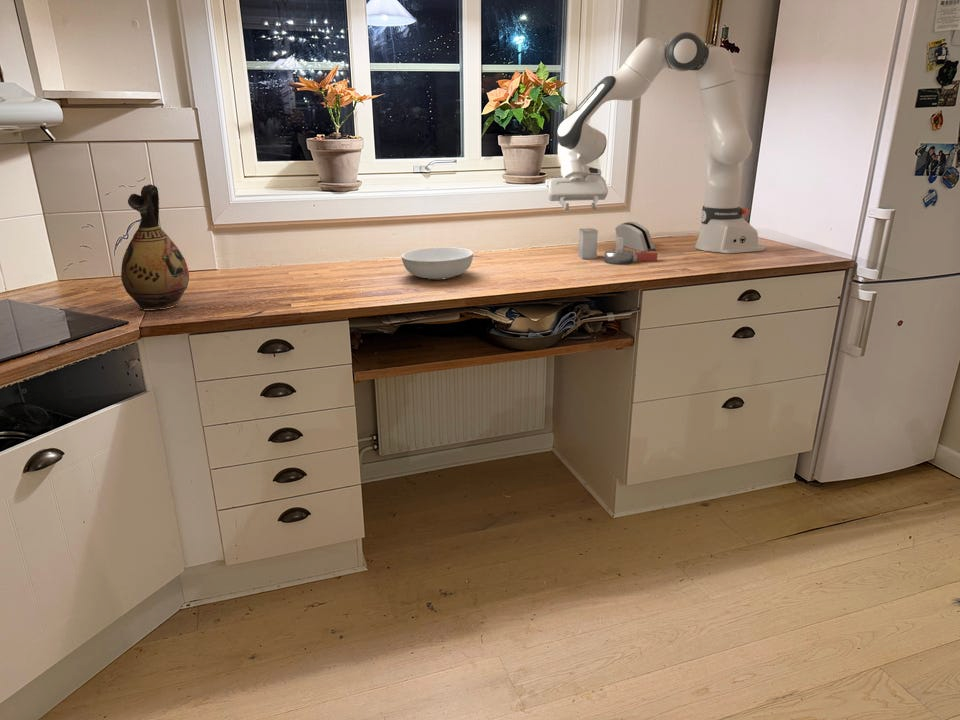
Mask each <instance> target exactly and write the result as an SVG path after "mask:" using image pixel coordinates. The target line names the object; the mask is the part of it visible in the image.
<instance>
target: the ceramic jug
mask: <svg viewBox="0 0 960 720" xmlns="http://www.w3.org/2000/svg"><path fill="white" fill-rule="evenodd" d="M159 196H160V195H159V189H158V187H157V186H156V185H154V184H152V183H151V184H147V185H144V186H143V187H142V188H141V190H140V194H137V193H132V194H130V196H128V199H127V204H128V206H129V207H130V208H131V209H133V210H135V211H137V212H139V214H140V219H141V220H140V221H139V225H138V228H137V230H136V231H135V232H134V234H133V236H132V238H131V239H130V241H129V243H128V246H127V248H126V250H125V252H124V255H123V257H122V261H121V272H120V275H121V277H120V279H121V282H122V286H123V287H124V290H125V292H126V293H127V294H128V295H129V297H131V298H132V299H133V300H134V301H135V302H136V303H137V305H138V306H139V307H140V308H142V309H160V308H167V307H171V306H174V305H176V304H178V305H179V302H180V300H181V298H182V296H183V295H184V293H185V291H186V290H187V289H188V286H189V282H190V281H189V280H190V273H189V267H188V264H187V262H186V259H185V257H184V255H183V252H182V251H180V249H179V248H178V245H176V244H175V243H174V242H173V240H172V239H171V237H169V235H168V234H167V233H166V232H165V231H164V230H163V229H162V228H161V227H160V224H159V220H160V219H159V218H160V217H159V214H160V213H159V212H160V197H159ZM139 307H138V308H139Z"/></svg>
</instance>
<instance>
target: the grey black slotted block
mask: <svg viewBox="0 0 960 720" xmlns="http://www.w3.org/2000/svg"><path fill="white" fill-rule="evenodd" d="M614 230H615V235H616V237H622V238H624V240H623V247H626V248H628V249H629V248H630V249H633V250H636V251H655V252H657V251H658V248H657V246H656V245H654V244H653V241H652V238H651V234H650V231H649V230H648V228H647V227H646V226H644V225H642V224H640V223H638V222H634V221H626V222H623V223H621V224H618V225H617V226H616V227H615V229H614Z"/></svg>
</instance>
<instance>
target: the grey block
mask: <svg viewBox="0 0 960 720" xmlns="http://www.w3.org/2000/svg"><path fill="white" fill-rule="evenodd" d="M578 233H579V234H578V257H579V258H581V260H591V259H592V260H593V259H595V260H596V259H597V256H598V237H599V236H598V233H599V231H598V230H597V229H596V228H593V227H591V228H579V230H578Z"/></svg>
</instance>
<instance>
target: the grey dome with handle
mask: <svg viewBox="0 0 960 720" xmlns="http://www.w3.org/2000/svg"><path fill="white" fill-rule="evenodd" d="M623 240H624V238H622V237H617V236H616V238H615V249H607V250H605V251H604V259H603V261H604V263H606V264H610V265H630V264H633V263H636V262H637V263H641V262H643V263H644V262H657V261H658V254H659V253H658V252H657V251H654V250H648V251H639V250H637V251H633V250H630V249H629V250H628V249H624V246H623Z"/></svg>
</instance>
